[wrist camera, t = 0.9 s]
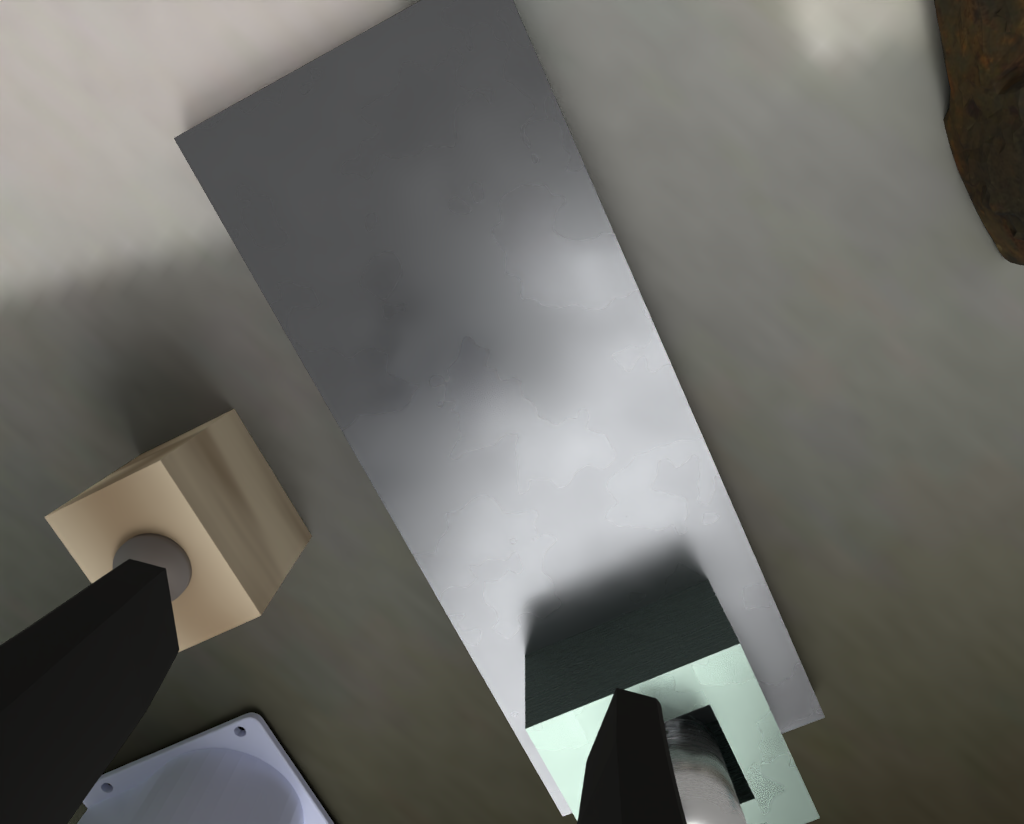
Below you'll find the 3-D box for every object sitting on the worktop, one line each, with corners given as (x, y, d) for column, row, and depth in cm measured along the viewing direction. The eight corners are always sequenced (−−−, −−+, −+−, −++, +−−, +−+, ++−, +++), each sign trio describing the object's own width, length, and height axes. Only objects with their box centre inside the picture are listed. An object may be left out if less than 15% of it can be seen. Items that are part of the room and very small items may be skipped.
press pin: (643, 806, 27) (663, 904, 24) (604, 734, 26) (619, 823, 23) (733, 773, 27) (768, 867, 23) (696, 698, 26) (726, 783, 22)
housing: (221, 577, 30) (145, 670, 24) (140, 454, 29) (38, 520, 23) (312, 535, 30) (257, 620, 23) (234, 408, 28) (155, 463, 22)
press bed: (561, 794, 33) (568, 908, 27) (190, 141, 25) (101, 124, 20) (813, 698, 31) (873, 799, 26) (496, -29, 24) (488, -97, 18)
